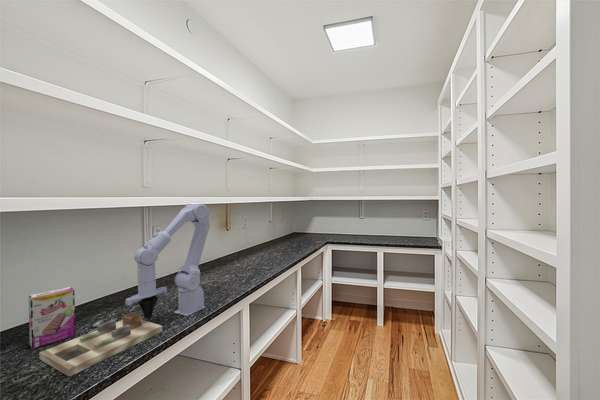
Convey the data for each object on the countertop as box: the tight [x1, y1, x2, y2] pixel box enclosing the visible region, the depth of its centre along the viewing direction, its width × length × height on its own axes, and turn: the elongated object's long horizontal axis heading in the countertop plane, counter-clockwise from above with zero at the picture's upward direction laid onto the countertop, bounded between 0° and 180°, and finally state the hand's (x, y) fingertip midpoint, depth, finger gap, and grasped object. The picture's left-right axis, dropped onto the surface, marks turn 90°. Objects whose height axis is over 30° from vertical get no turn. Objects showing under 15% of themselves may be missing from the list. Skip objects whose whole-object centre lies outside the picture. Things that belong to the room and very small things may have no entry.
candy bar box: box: [28, 286, 76, 350], centre depth 93 cm, size 11×5×16 cm, turn 141°
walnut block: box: [122, 311, 142, 330], centre depth 97 cm, size 4×4×4 cm
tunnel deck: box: [38, 318, 163, 377], centre depth 90 cm, size 27×18×5 cm, turn 151°
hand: (148, 317), depth 102 cm, fingers closed
